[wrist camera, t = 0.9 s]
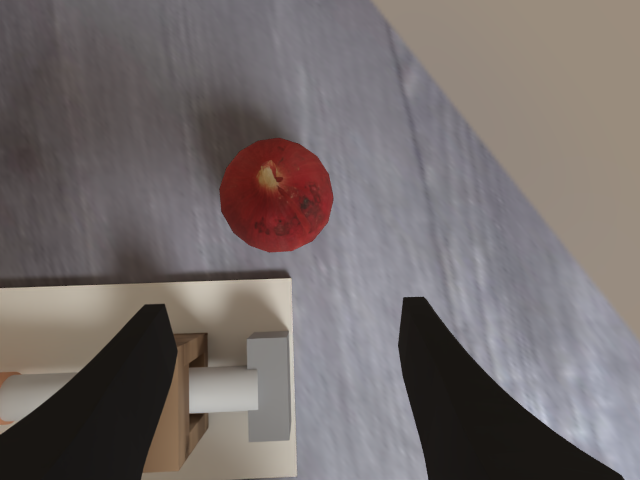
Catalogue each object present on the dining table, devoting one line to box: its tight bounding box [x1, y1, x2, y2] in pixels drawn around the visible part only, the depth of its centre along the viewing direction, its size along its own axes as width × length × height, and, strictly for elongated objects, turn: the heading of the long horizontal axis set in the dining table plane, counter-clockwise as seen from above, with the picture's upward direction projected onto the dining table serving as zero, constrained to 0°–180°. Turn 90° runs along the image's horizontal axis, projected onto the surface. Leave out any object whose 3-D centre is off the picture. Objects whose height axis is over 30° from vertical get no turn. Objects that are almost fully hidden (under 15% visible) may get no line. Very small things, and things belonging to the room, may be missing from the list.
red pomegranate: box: [219, 138, 333, 252], centre depth 23 cm, size 6×6×8 cm
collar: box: [143, 333, 209, 473], centre depth 22 cm, size 2×5×6 cm, turn 2°
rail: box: [0, 278, 297, 480], centre depth 24 cm, size 24×11×5 cm, turn 92°
